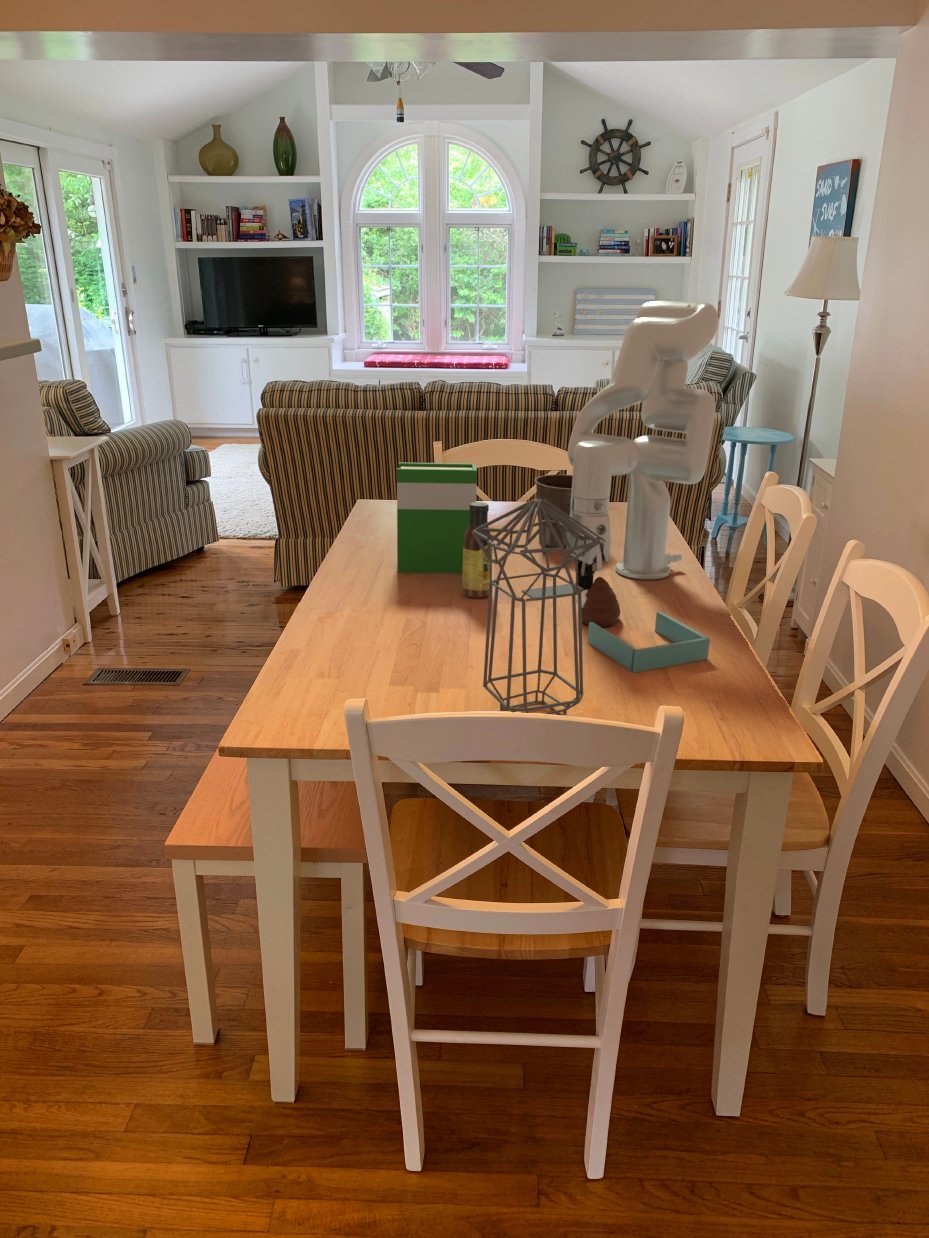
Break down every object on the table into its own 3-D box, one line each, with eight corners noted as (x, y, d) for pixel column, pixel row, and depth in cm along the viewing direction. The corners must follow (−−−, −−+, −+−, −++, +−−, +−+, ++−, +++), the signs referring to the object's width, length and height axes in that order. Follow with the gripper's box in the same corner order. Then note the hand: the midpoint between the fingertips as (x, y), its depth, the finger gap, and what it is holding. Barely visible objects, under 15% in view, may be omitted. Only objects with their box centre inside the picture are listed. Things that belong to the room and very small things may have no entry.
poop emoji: (613, 631, 183) (617, 586, 180) (570, 624, 186) (573, 580, 182) (623, 614, 192) (627, 571, 188) (583, 608, 194) (586, 565, 191)
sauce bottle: (488, 600, 198) (491, 509, 191) (459, 597, 199) (461, 506, 192) (493, 590, 204) (496, 501, 197) (465, 588, 205) (467, 499, 198)
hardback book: (397, 572, 214) (396, 469, 206) (398, 563, 221) (398, 462, 213) (474, 573, 215) (476, 470, 206) (473, 564, 222) (475, 463, 213)
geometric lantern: (510, 747, 138) (513, 516, 126) (467, 705, 152) (467, 493, 140) (601, 728, 144) (613, 505, 132) (552, 689, 158) (559, 484, 146)
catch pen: (658, 630, 184) (660, 611, 182) (707, 659, 171) (710, 638, 169) (587, 642, 177) (589, 622, 176) (633, 672, 164) (635, 651, 163)
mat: (569, 585, 209) (569, 583, 209) (583, 593, 204) (583, 592, 203) (521, 591, 204) (521, 590, 204) (535, 600, 199) (535, 598, 199)
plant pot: (605, 541, 243) (610, 479, 237) (578, 555, 230) (582, 491, 224) (549, 531, 251) (553, 471, 245) (520, 544, 238) (523, 482, 232)
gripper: (626, 512, 180) (619, 601, 187) (586, 494, 193) (580, 579, 200) (593, 515, 177) (586, 606, 184) (554, 497, 190) (549, 583, 197)
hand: (583, 591), depth 192 cm, fingers closed
